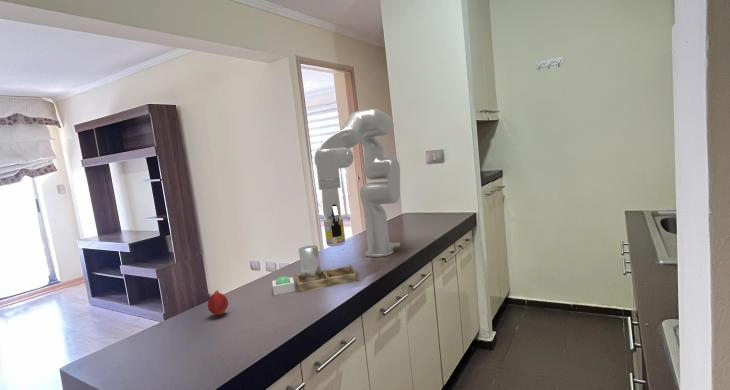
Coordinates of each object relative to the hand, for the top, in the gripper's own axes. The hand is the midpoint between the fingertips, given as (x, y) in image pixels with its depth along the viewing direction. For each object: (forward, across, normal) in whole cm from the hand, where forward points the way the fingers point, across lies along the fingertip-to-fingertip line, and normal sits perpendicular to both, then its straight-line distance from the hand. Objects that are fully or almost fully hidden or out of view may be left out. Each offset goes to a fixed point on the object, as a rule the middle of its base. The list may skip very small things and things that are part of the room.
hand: (335, 234), depth 137 cm
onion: (+18, +11, -40) cm, 45 cm away
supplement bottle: (+4, 0, 0) cm, 4 cm away
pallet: (+17, 0, -5) cm, 18 cm away
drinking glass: (+16, 0, -10) cm, 19 cm away
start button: (+17, +1, -20) cm, 26 cm away
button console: (+17, +1, -20) cm, 26 cm away
